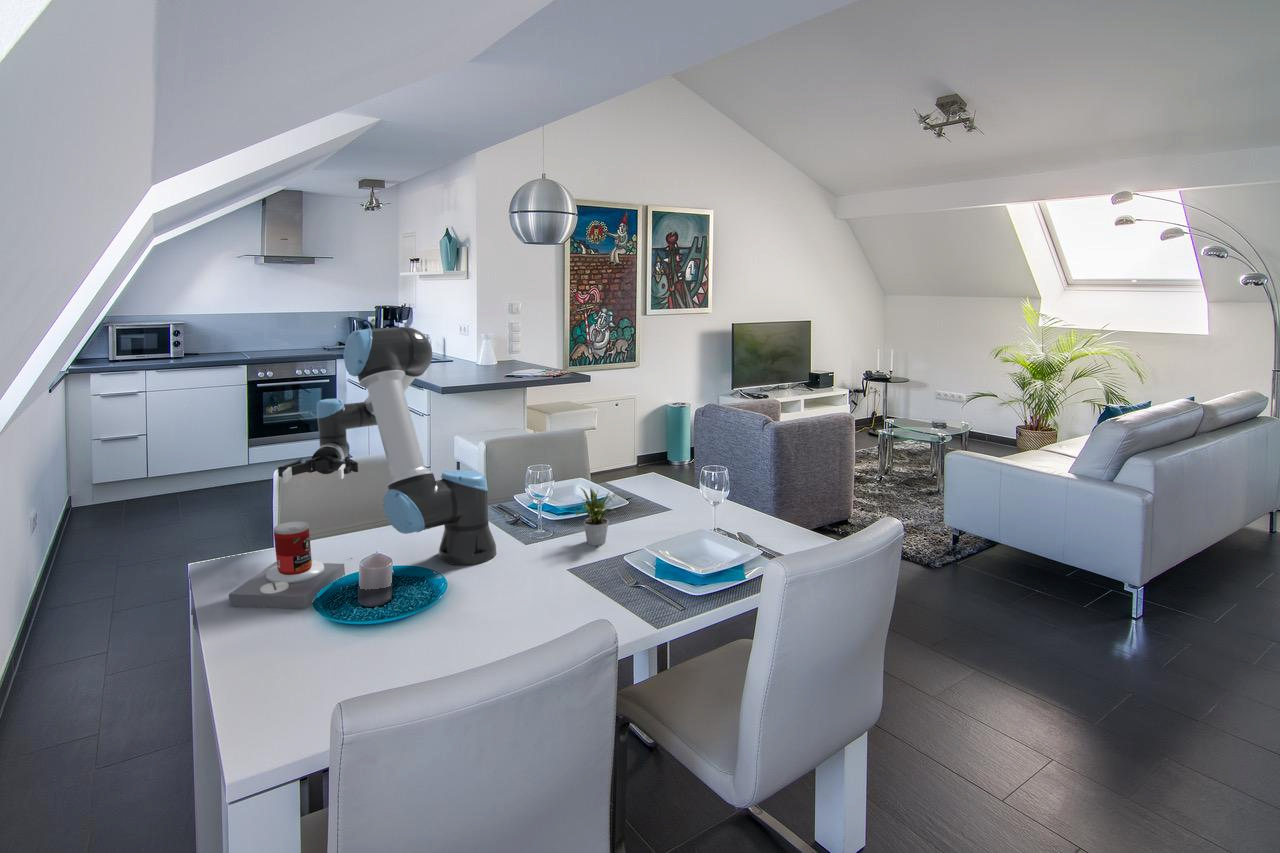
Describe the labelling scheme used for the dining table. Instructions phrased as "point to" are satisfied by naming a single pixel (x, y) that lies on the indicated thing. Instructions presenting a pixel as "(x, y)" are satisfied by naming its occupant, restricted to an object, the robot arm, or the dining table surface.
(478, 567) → the dining table surface
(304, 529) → the canned food
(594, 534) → the house plant
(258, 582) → the kitchen scale
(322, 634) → the dining table surface
